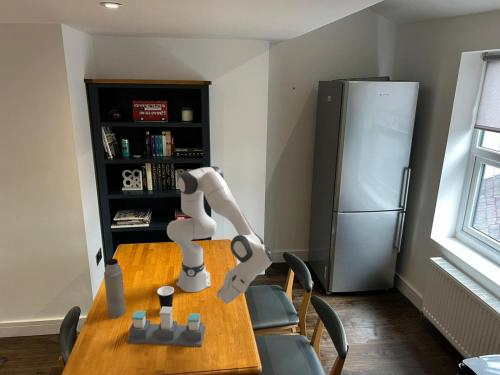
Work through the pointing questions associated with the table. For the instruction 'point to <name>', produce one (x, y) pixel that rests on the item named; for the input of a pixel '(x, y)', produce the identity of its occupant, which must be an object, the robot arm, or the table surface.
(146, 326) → the console
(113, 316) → the thermos bottle
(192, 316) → the teal key
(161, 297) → the dixie cup
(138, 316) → the teal key
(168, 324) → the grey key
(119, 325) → the table surface
